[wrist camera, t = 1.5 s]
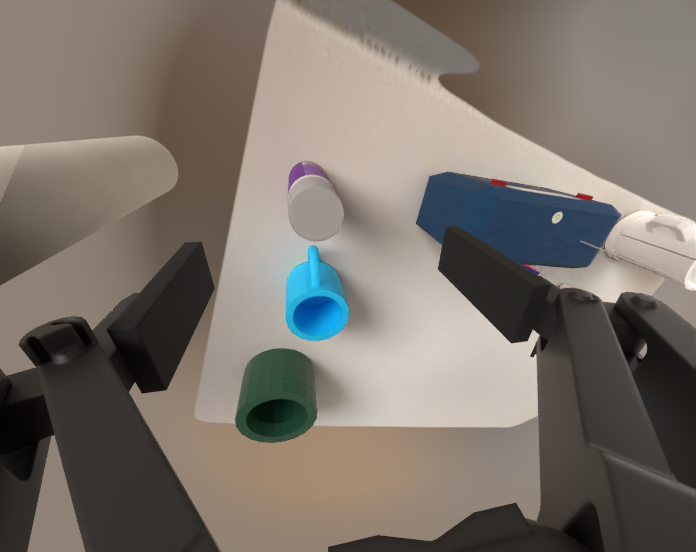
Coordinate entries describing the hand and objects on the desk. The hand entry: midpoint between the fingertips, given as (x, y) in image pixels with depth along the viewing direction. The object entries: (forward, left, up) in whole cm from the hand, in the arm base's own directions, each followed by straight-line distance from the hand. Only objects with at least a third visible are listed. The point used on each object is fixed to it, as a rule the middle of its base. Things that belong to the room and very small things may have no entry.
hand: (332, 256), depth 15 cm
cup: (+48, +29, -23) cm, 60 cm away
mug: (+9, -10, -23) cm, 27 cm away
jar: (+17, -30, -23) cm, 41 cm away
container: (0, 0, -23) cm, 23 cm away
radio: (+22, +14, -23) cm, 35 cm away
